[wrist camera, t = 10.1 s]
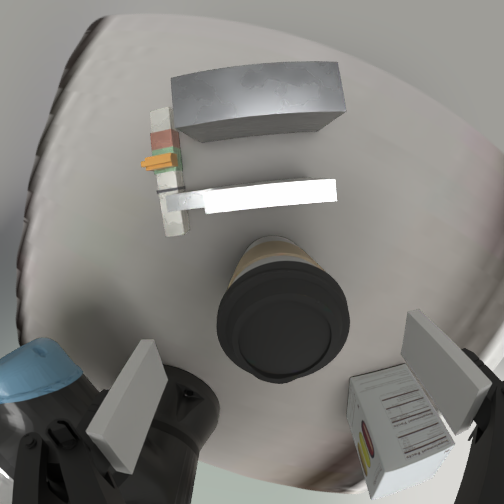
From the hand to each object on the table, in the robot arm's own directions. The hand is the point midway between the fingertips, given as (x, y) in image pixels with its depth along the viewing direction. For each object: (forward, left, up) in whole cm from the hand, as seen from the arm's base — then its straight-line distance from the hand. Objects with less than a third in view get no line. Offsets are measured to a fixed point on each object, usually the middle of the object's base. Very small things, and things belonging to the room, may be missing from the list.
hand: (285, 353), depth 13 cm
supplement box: (+14, -23, -18) cm, 33 cm away
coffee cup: (0, -1, -18) cm, 18 cm away
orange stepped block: (-9, +10, -15) cm, 20 cm away
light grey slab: (-2, +7, -17) cm, 19 cm away
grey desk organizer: (-2, +10, -18) cm, 21 cm away
